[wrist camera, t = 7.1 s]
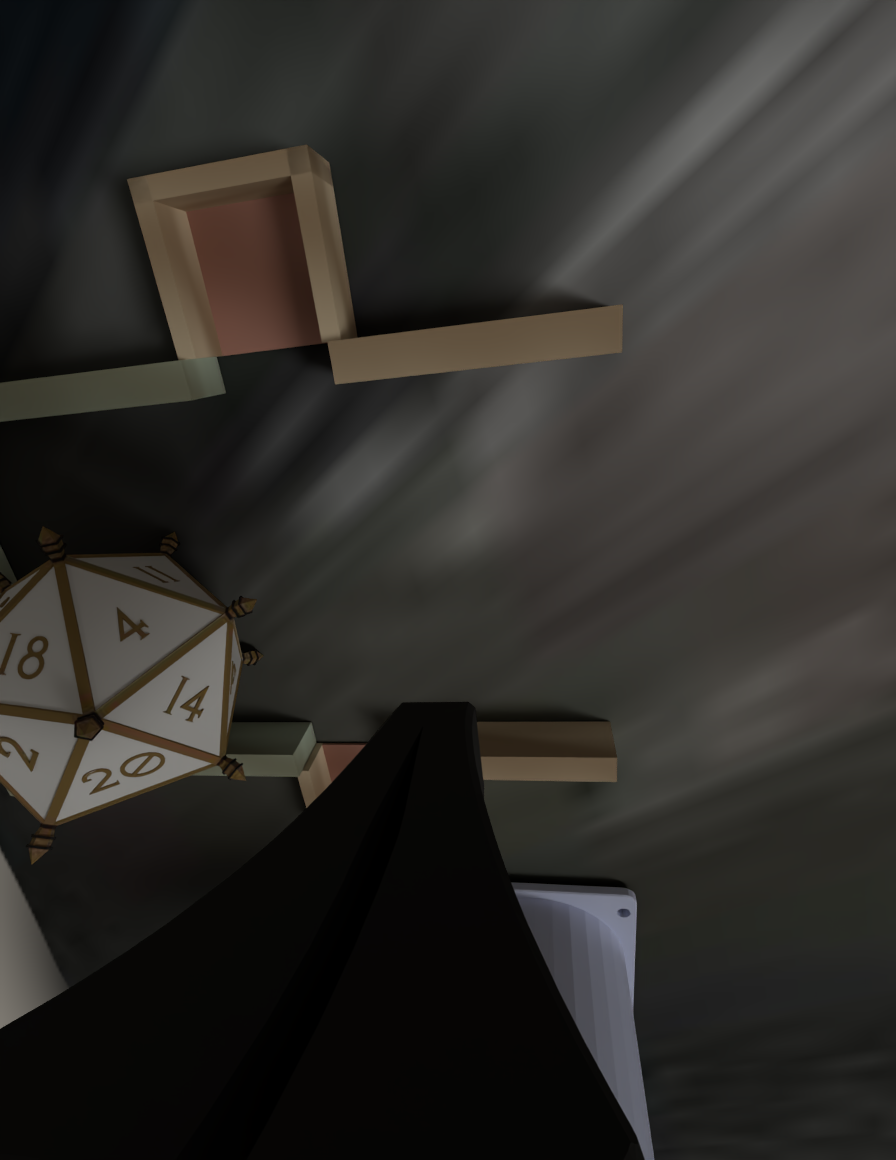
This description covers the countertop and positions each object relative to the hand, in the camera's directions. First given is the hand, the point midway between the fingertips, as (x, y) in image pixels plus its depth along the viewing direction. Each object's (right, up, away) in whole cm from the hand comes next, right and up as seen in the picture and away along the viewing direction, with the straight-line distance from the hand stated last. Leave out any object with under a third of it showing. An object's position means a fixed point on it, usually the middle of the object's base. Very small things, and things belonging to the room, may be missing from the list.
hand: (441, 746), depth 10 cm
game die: (-9, +2, +10) cm, 14 cm away
